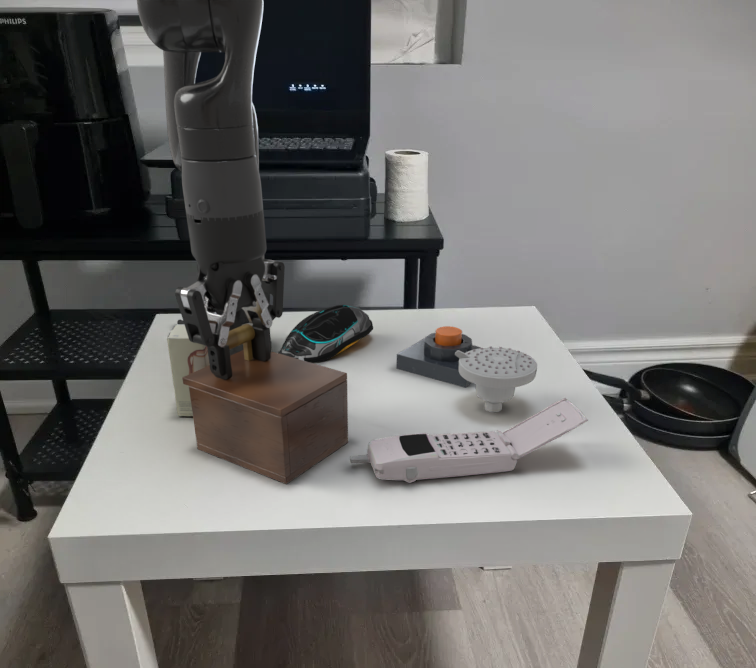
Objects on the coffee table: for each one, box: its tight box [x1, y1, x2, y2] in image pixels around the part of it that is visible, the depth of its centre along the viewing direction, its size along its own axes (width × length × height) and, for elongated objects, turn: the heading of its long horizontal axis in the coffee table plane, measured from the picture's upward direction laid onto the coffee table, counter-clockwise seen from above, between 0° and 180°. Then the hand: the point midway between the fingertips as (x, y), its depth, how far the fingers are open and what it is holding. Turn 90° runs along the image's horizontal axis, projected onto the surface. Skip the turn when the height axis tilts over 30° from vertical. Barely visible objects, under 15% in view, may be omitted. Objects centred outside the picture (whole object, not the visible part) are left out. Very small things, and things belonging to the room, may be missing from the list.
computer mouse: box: [277, 304, 374, 363], centre depth 108 cm, size 9×17×6 cm, turn 130°
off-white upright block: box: [166, 323, 210, 417], centre depth 90 cm, size 5×4×10 cm
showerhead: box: [455, 346, 538, 413], centre depth 92 cm, size 9×7×10 cm
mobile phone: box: [349, 397, 589, 484], centre depth 80 cm, size 6×6×25 cm
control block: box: [395, 332, 482, 389], centre depth 103 cm, size 11×9×4 cm
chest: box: [189, 379, 349, 485], centre depth 83 cm, size 13×11×8 cm
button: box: [434, 325, 463, 346], centre depth 102 cm, size 4×4×2 cm
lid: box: [182, 324, 348, 417], centre depth 80 cm, size 14×11×5 cm
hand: (242, 367), depth 82 cm, fingers closed on lid, 5 cm apart
